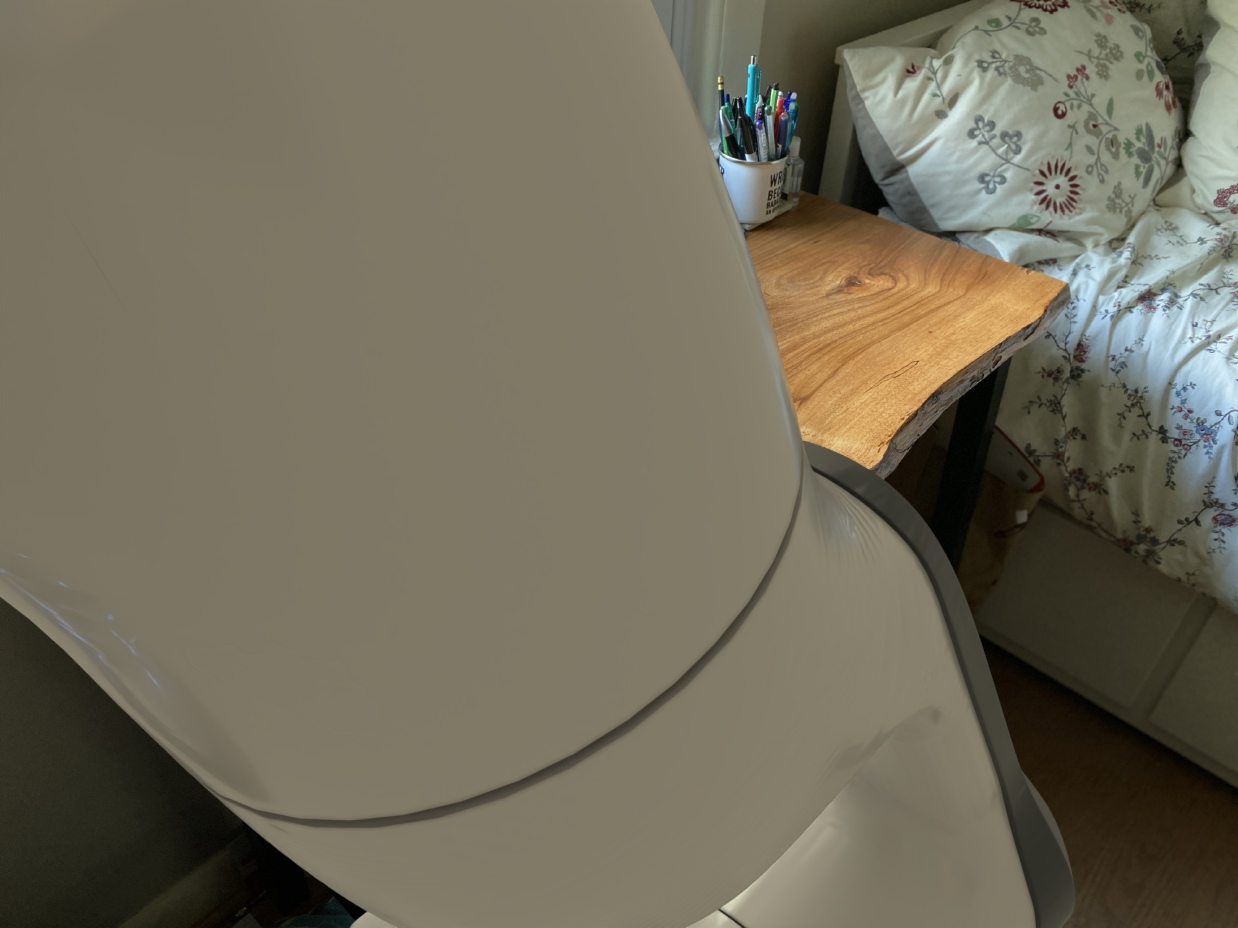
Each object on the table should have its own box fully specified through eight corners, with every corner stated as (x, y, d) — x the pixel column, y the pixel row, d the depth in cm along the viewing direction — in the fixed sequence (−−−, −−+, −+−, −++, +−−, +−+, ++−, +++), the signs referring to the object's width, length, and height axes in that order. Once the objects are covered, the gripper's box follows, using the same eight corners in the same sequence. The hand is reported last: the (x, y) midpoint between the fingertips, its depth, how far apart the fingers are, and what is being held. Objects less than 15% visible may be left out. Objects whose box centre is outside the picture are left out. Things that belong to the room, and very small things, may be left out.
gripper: (789, 762, 46) (597, 613, 54) (452, 1096, 35) (272, 847, 43) (776, 830, 50) (600, 682, 58) (470, 1150, 39) (302, 913, 47)
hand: (458, 754), depth 50 cm, fingers open, 8 cm apart
